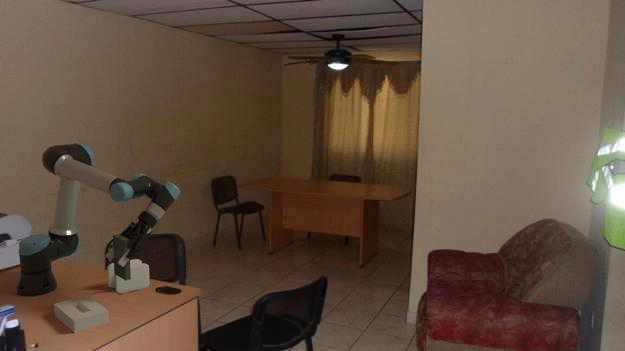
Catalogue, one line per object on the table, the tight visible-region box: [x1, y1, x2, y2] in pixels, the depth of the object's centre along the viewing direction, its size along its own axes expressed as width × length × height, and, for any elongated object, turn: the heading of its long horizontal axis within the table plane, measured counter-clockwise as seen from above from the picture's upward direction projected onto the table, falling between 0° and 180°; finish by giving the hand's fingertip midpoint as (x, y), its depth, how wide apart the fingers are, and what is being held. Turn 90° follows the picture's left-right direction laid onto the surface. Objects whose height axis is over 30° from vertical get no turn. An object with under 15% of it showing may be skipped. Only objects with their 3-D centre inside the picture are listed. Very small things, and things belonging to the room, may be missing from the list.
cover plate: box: [112, 234, 131, 281], centre depth 183 cm, size 10×2×16 cm, turn 47°
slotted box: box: [53, 295, 110, 334], centre depth 174 cm, size 20×12×6 cm, turn 47°
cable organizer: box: [106, 258, 150, 295], centre depth 207 cm, size 15×11×12 cm
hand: (114, 261), depth 181 cm, fingers closed on cover plate, 10 cm apart
